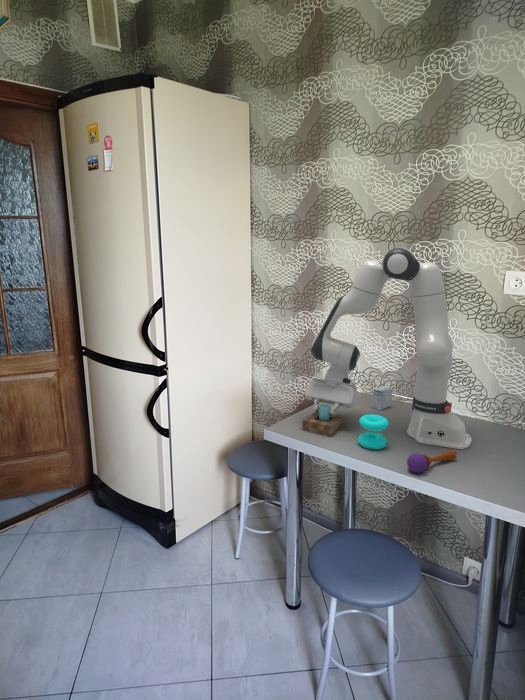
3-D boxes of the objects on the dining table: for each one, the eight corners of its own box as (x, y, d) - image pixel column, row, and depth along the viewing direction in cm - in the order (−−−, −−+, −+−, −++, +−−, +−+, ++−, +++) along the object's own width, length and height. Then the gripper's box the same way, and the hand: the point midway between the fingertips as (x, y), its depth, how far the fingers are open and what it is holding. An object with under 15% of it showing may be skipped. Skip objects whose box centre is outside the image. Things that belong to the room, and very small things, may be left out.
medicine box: (382, 404, 206) (384, 385, 204) (391, 406, 203) (392, 387, 201) (371, 407, 201) (373, 388, 199) (380, 410, 198) (381, 391, 196)
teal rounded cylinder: (330, 428, 179) (331, 406, 176) (326, 431, 175) (327, 409, 173) (321, 425, 181) (322, 404, 179) (316, 428, 177) (317, 406, 175)
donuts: (383, 425, 155) (355, 419, 160) (381, 453, 157) (353, 446, 162) (392, 416, 163) (365, 411, 168) (390, 443, 165) (363, 436, 170)
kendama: (462, 452, 150) (420, 461, 139) (456, 467, 152) (415, 478, 141) (447, 442, 154) (406, 450, 144) (442, 457, 156) (400, 466, 146)
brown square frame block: (343, 426, 180) (344, 416, 179) (331, 436, 170) (331, 426, 169) (316, 420, 186) (316, 410, 185) (302, 429, 176) (302, 419, 175)
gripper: (309, 373, 185) (296, 403, 179) (357, 381, 174) (346, 413, 168) (313, 381, 190) (301, 410, 184) (361, 390, 179) (350, 421, 173)
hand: (323, 412), depth 176 cm, fingers open, 5 cm apart
